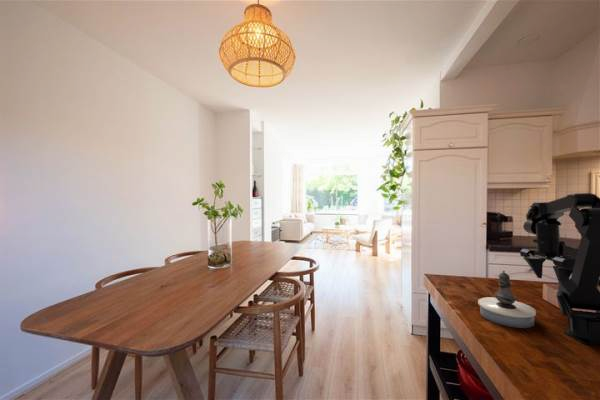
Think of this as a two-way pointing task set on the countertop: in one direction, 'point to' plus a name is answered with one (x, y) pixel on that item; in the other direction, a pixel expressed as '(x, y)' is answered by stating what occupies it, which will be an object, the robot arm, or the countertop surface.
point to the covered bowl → (507, 313)
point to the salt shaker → (505, 292)
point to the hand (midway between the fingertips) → (550, 282)
